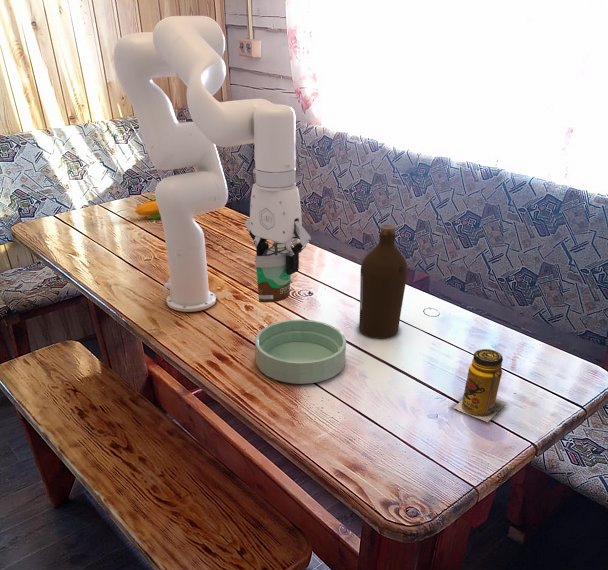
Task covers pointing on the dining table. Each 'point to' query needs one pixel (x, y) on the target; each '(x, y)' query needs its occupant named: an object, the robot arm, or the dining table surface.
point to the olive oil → (382, 287)
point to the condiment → (482, 386)
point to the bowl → (300, 351)
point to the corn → (149, 209)
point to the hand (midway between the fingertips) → (277, 267)
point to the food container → (273, 274)
